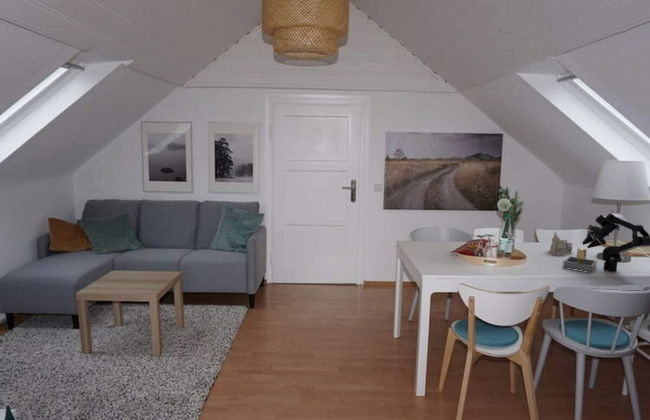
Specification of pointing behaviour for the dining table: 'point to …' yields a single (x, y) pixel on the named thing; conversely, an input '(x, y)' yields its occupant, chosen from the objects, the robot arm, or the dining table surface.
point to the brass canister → (581, 256)
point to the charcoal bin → (572, 264)
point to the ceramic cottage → (560, 247)
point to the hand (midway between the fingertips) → (585, 245)
